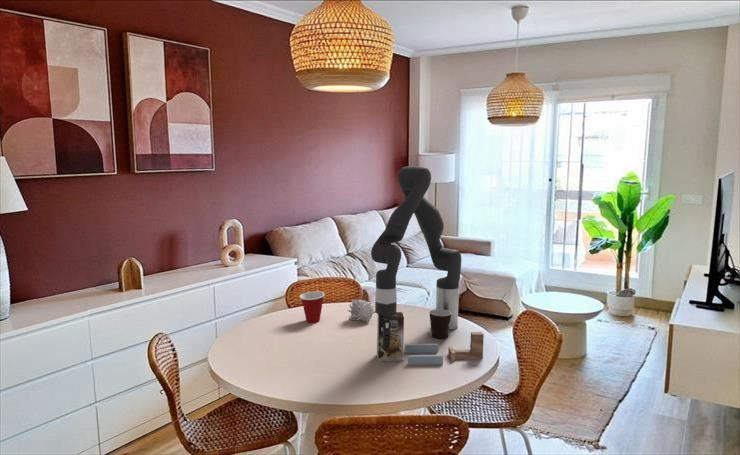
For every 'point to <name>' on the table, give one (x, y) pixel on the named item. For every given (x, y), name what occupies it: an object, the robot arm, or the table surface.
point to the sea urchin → (361, 310)
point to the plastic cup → (312, 305)
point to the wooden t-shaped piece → (471, 353)
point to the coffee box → (396, 338)
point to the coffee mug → (440, 323)
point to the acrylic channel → (423, 358)
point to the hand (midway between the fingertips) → (385, 344)
